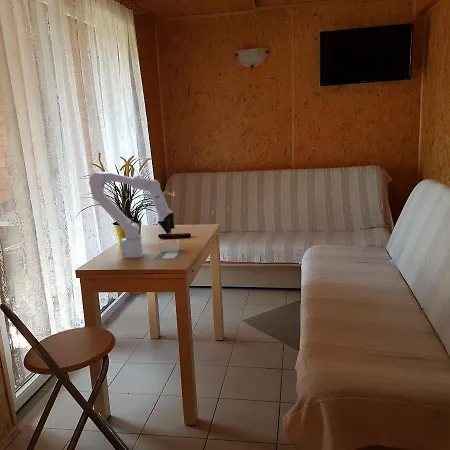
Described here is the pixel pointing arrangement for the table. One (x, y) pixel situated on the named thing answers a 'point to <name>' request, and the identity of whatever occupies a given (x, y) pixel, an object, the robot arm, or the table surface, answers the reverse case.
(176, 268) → the table surface
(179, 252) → the mat
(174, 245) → the card box
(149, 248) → the table surface
